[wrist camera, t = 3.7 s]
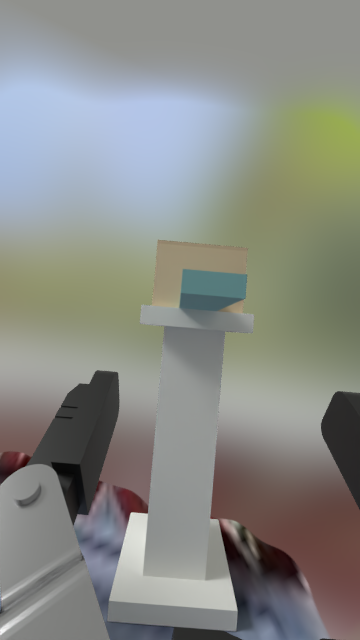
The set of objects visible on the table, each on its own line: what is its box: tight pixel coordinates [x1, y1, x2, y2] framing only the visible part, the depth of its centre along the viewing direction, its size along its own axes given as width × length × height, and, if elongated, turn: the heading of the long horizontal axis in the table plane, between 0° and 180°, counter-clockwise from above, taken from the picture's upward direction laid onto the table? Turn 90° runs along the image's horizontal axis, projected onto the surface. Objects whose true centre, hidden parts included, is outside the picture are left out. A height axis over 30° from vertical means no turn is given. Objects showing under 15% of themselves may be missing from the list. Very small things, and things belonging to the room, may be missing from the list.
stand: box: [107, 305, 254, 631], centre depth 34 cm, size 13×13×32 cm
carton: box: [152, 240, 248, 313], centre depth 28 cm, size 23×10×7 cm, turn 1°
